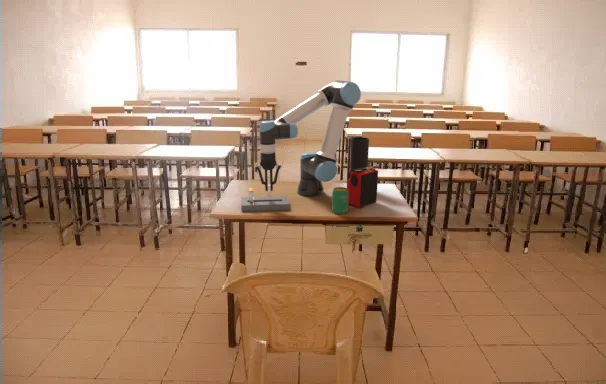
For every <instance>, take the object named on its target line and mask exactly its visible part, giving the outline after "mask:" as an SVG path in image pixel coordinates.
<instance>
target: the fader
mask: <svg viewBox="0 0 606 384" xmlns="http://www.w3.org/2000/svg"><path fill="white" fill-rule="evenodd" d="M248 194H249V195H248V197H249V202H253V197H254V187H249V188H248Z"/></svg>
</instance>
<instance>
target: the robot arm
mask: <svg viewBox="0 0 606 384" xmlns="http://www.w3.org/2000/svg"><path fill="white" fill-rule="evenodd" d="M361 93H362V92H361V89H360V87H359V85H358V84H357V83H356V82H353V81H350V80H334V81H331V82H330V83H328V84H326V85H325V86H323V87H322V88H320V89H318V90H317V91H316V94H314V95H312V96H311V97H309V98H308V99H306V100H304V101H303V102H301V103H300V104H298V105H297V106H296V107H295V106H294V108H292V109H290V110H289V111H287V112H286V113H284V114H283V115H281V116H279V117H278V118H276V119H272V120H262V121H260V123H259V142H260V144H259V146H260V147H259V149H260V150H259V151H260V161H259V164H258V165H255V169H256V170H257V173H258V175H259V179H260V182H261V184H262V185H264V188H265V189H264V190H265V192H267V197H268V198H271V197H272V196H271V195H272V193H271V192H272V191H274V188H273V187H274V185H276V184H277V181H278V177H279V173H280V169H281V167H282V166H281V164H279V163H277V159H276V157H277V156H276V155H277V154H276V140H287V139H288V140H289V139H291V140H292V139H296V138H297V136H298V134H299V131H298V130H299V129H298V126H297V123H299V122H301V121H303V120H304V119H306V118H307V117H309V116H310V115H311V114H314V113H315V112H316V111H318V110H320V109H321V108H323V107H328V106H330V105H331V106H332V109H331V110H332V111H331V113H330V117H329V118H328V119H329V120H328V123H327V127H326V130H325V133H324V136H323V138H322V139H323V140H322V143H321V145H320V148H319V149H320V150H319V151H317V152H305V153H301V155H300V159H299V162H300V166H299V167H300V180H299V183H298V186H297V189H296V190H297V191H296V192H297V194H298V195H301V196H305V197H306V196H307V197H316V196H317V197H318V196H321V195H323V194H324V192H325V191H324V190H325V189H324V186H323V183H322V182H324V183H327V182H331V181H332V180H333V179H335V178H336V176H337V174H338V167H337V165H336V163H337V161H338V160H337V157H336V154H337V150H338V147H339V144H340V142H341V139H342V135H343V133H344V132H343V131H344V128H345V124H346V121H347V118H348V116H349V112H352V111H353V108H354V105H357V103H359V101H360V99H361V97H362V94H361ZM261 168H262V169H263V170H264V178H263V174H262V171H261ZM275 168H276V169H275ZM274 169H275V174H274V176H273V170H274ZM268 171H269V180H268ZM273 177H274V178H273ZM268 181H269V183H268Z"/></svg>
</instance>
